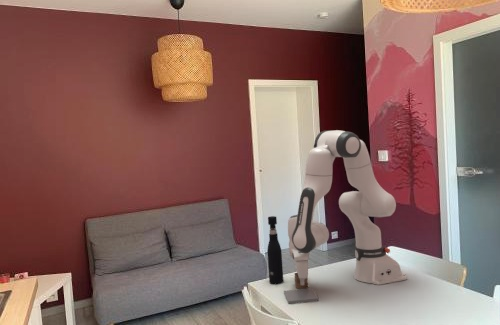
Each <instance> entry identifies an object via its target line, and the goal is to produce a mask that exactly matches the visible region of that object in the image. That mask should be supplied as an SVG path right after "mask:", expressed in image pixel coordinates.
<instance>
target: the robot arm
mask: <svg viewBox="0 0 500 325" xmlns="http://www.w3.org/2000/svg"><path fill="white" fill-rule="evenodd" d="M336 158H342V159H343V164H344V168H345V171H346V177H347V181H348V183H349V184H350V186H352V187H353V188H355V189H356V190H355V191H354V190H352V191H345V192H343V193H342V194H341V195H340V196H339V199H338V205H339V206H338V207H339V209H340V211H341V212H342V213H343V214H344V215H346V217H347V218H348V219H349V222H350V223H351V225H352V227H353V229H354V230H353V231H354V237H355V246H354V249H355V250H354V253H355V254H354V255H355V259H356V262H355V271H354V275H353V277H354V279H355V280H357V281H359V282H362V283H369V284H374V285H377V286H378V285H384V284H390V283H396V282H400V281H406V280H408V276H407V274H406V273H405V272H403V271H402V269H401V266H400V264H399V263H398V261H397V260H396V259H394V258H392V257H391V256H389V255H388V254H390V252H391V249H390V248H388V247H385V246H383V245H382V232H381V231H382V230H381V228H380V227H379V226H378V225H376V224H375V223H373V222H372V221H371V219H370V218H369V217H372V218H373V217H374V218H385V217H391V216H392V215H393V214H394V213H395V211H396V207H397V202H396V199H395V197H394V196H393V195H392V193H389V192H387V191H386V190H385V189H384V188H383V187H382V186H381V185H380V184H379V183H378V181H377V178H376V177H375V174H374V170H373V166H372V161H371V157H370V153H369V151H368V148H367V146H366V143H365V142H364V141H363V139H360V138H359V136H358V135H357V134H356V133H354V132H351V131H345V130H338V129H336V130H326V129H325V130H323V131H320V132H318V134H316V137H315V139H314V143H313V148H312V149H310V150H309V152H308V155H307V159H306V164H305V172H304V173H305V176H304V184H303V189H302V191H301V194H300V197H299V203H298V209H297V214H294V215H291V216H289V218H288V222H287V236H288V239H289V242H288V252H289V256H290V257H291V258H292V260H293V264H294V266H295V269H296V273H298V277H299V279H300V285H305V283H304V281H305V279H307V278H309V260H310V255H311V252H312V251H313V250H315V249H317V248H318V247H320V246H322V245H324V244H326V243H327V242H328V241H329V239H330V231H329V228H328V227H327V226H326V224H324V223H322V222H318V221H315V220H314V212H315V209H316V206H317V204H318V203H319V201H320V200H321V199H322V198H324V197H325V196H326V195H327V194H328V193H329V192H330V190H331V187H332V183H333V170H334V169H333V165H334V161H335V159H336ZM357 190H358V191H357Z"/></svg>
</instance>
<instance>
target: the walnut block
mask: <svg viewBox="0 0 500 325" xmlns="http://www.w3.org/2000/svg"><path fill="white" fill-rule="evenodd" d="M308 278H309V277H308ZM308 278H307V279H305V281H304V283H305V285H300V279H299V277H298V273H297V272H294V285H295V287H296V289H307V288H309V280H308Z"/></svg>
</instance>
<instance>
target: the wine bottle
mask: <svg viewBox="0 0 500 325" xmlns="http://www.w3.org/2000/svg"><path fill="white" fill-rule="evenodd" d="M277 220H278V218H277V216H276V215H275V216H274V215H272V216H268V217H267V221H268V222H267V223H268V226H269V234H268V235H269V238H268V239H269V241H268V244H267V267H268V279H269V284H271V285H280V284H283V283H284V271H283V270H284V269H283V268H284V267H283V255H282V253H283V252H282V247H281V244H280V241H279V238H278V232H277V229H276V228H277V227H276V225H277V224H278V221H277Z"/></svg>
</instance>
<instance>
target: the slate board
mask: <svg viewBox="0 0 500 325" xmlns="http://www.w3.org/2000/svg"><path fill="white" fill-rule="evenodd" d="M283 294H284V297H285V299H286V301H287V304H288V305H294V304H305V303H312V302H313V303H314V302H319V300H320V299H319V297H318V295H317V293H315V290H313V288H312V287H308V288H296V289H289V290H283Z"/></svg>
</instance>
